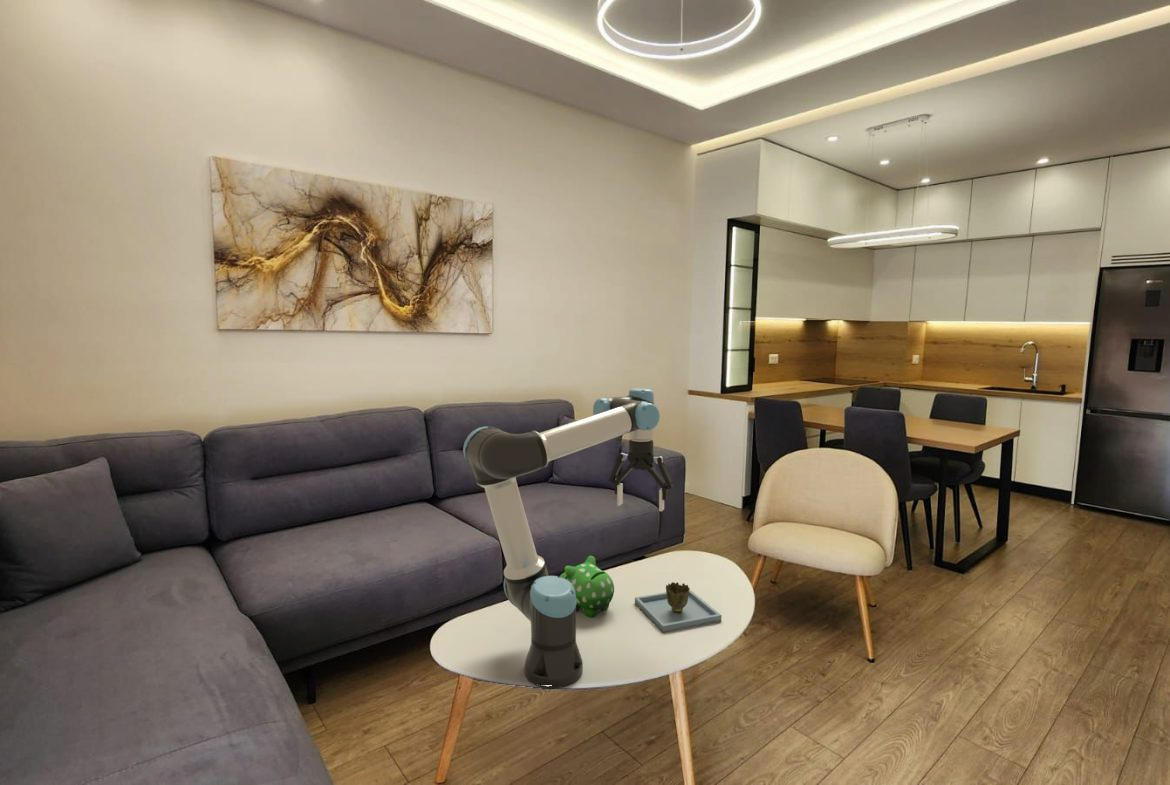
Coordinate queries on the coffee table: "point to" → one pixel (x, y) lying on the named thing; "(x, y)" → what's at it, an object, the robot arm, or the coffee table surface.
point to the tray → (668, 620)
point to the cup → (677, 596)
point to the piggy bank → (590, 587)
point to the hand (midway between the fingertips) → (640, 507)
